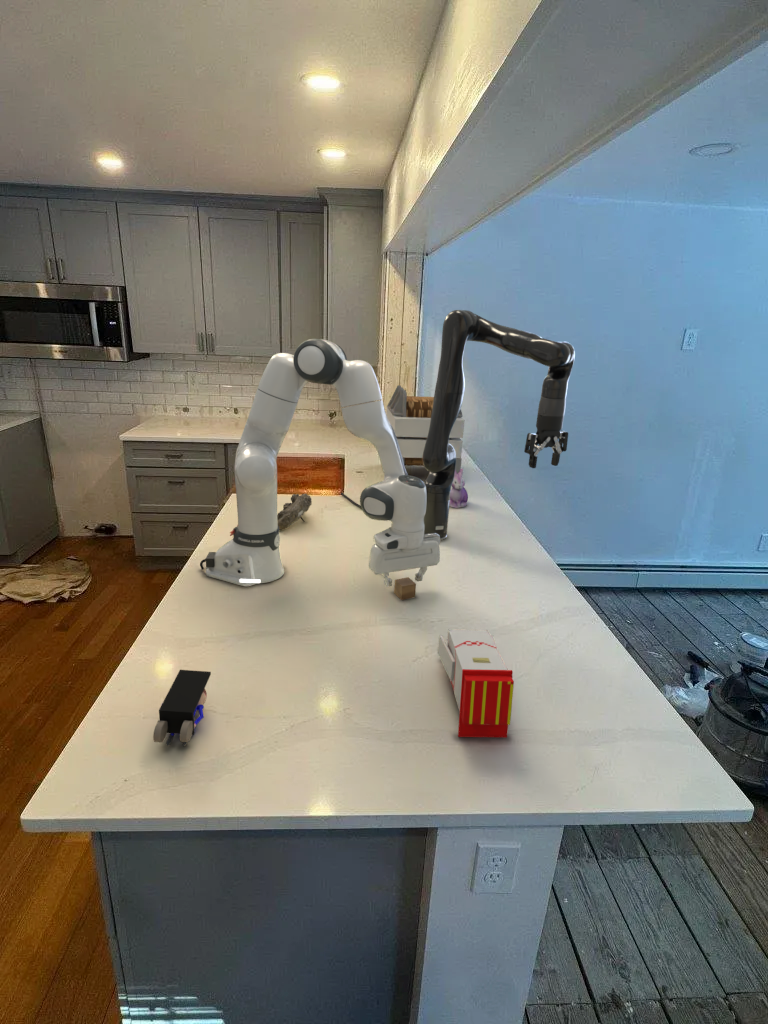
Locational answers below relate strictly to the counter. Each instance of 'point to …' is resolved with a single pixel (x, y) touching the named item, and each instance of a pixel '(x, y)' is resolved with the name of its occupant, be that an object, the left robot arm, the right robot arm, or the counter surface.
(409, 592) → the brown wooden cube
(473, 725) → the toy
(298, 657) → the counter surface
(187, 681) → the figurine character
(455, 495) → the figurine
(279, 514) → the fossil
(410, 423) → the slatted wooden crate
